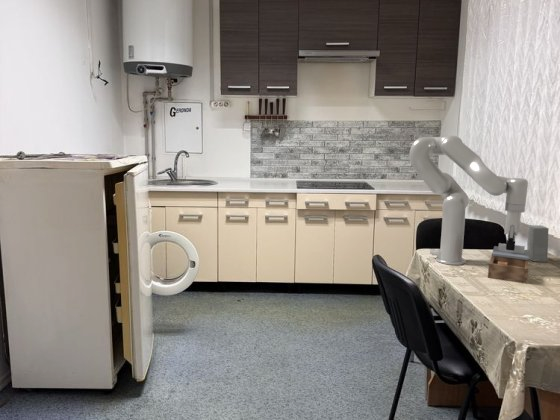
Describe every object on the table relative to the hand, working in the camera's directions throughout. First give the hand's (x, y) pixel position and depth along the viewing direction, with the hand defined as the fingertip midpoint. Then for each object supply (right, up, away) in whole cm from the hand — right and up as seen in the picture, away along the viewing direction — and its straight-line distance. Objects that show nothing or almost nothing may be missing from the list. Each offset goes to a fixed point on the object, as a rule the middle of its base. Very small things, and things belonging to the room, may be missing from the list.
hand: (510, 249), depth 193 cm
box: (-5, -10, -7) cm, 13 cm away
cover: (+2, -2, +3) cm, 4 cm away
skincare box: (+21, -6, +17) cm, 28 cm away
